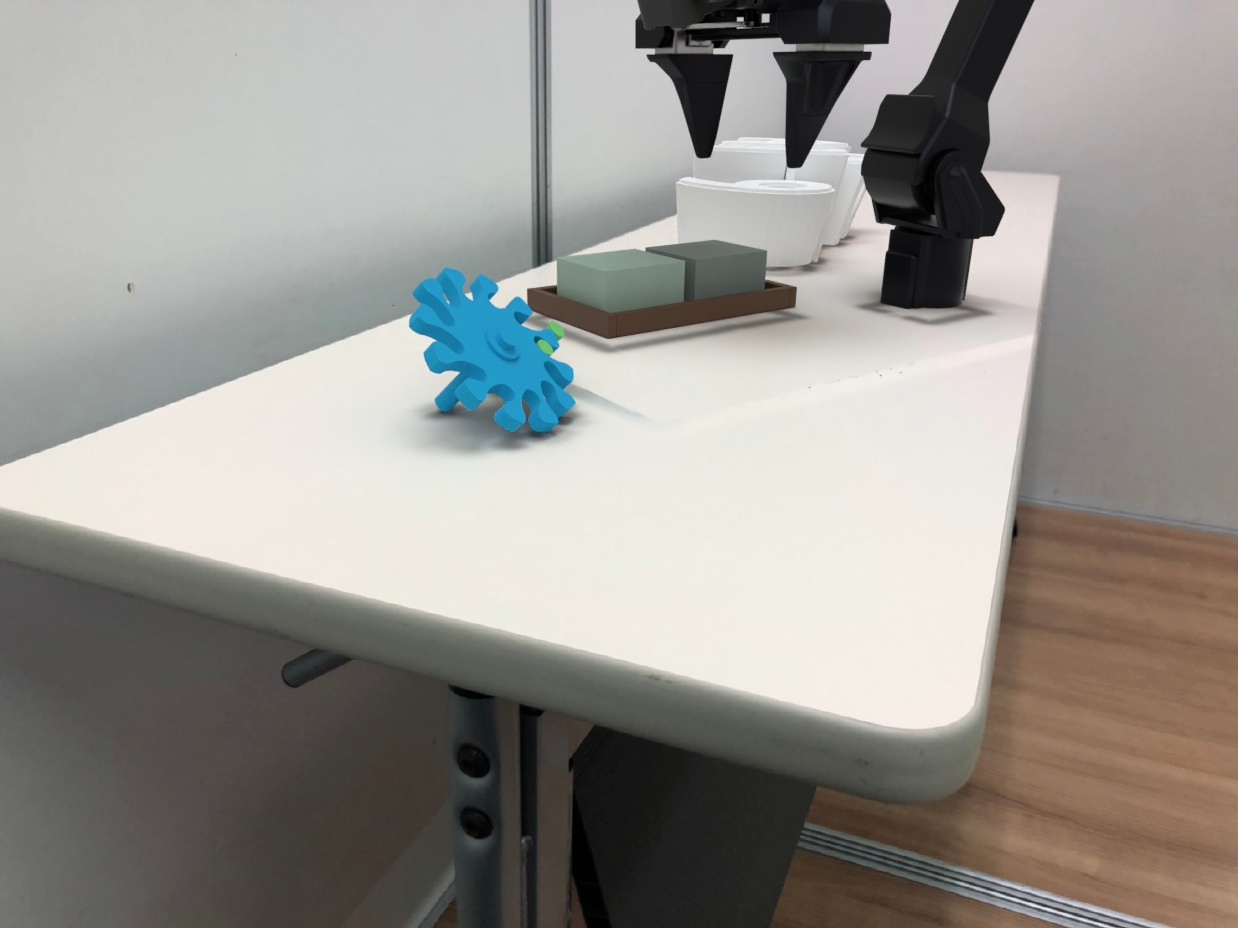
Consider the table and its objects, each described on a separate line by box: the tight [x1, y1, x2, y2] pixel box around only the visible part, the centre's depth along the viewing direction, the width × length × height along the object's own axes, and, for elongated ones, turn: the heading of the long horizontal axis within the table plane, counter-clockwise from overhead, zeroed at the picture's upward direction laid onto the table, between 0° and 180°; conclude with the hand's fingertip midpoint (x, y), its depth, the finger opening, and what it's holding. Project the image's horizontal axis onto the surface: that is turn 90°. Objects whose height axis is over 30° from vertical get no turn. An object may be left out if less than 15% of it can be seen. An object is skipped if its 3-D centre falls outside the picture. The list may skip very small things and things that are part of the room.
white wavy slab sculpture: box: [675, 136, 867, 268], centre depth 100 cm, size 35×16×10 cm, turn 155°
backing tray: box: [526, 278, 798, 340], centre depth 72 cm, size 17×10×2 cm, turn 126°
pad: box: [644, 240, 767, 302], centre depth 74 cm, size 7×6×4 cm
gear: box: [408, 267, 577, 433], centre depth 51 cm, size 11×6×10 cm
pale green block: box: [556, 248, 685, 313], centre depth 69 cm, size 7×6×4 cm
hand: (746, 162), depth 67 cm, fingers open, 9 cm apart
